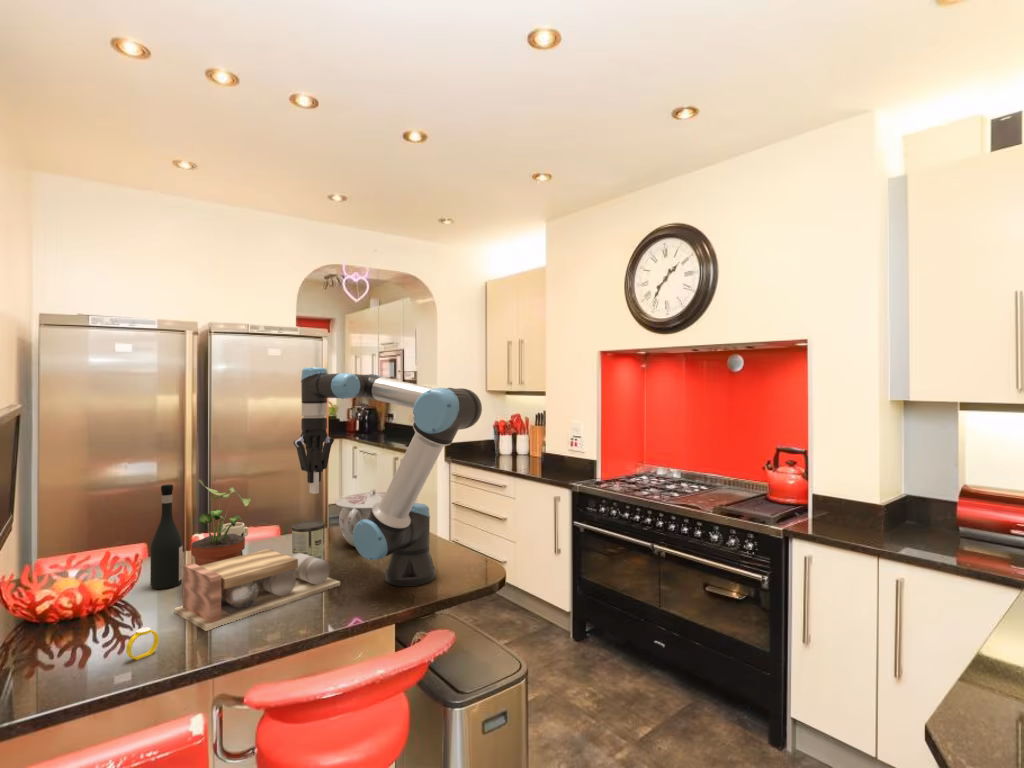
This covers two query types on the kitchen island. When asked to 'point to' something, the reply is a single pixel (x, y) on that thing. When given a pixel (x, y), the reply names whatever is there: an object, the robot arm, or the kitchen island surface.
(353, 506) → the chamber pot
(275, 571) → the oak slab
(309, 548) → the coffee can
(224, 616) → the roller bed
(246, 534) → the character mug
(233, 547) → the potted plant
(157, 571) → the wine bottle
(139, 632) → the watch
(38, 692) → the kitchen island surface
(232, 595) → the loose roller
